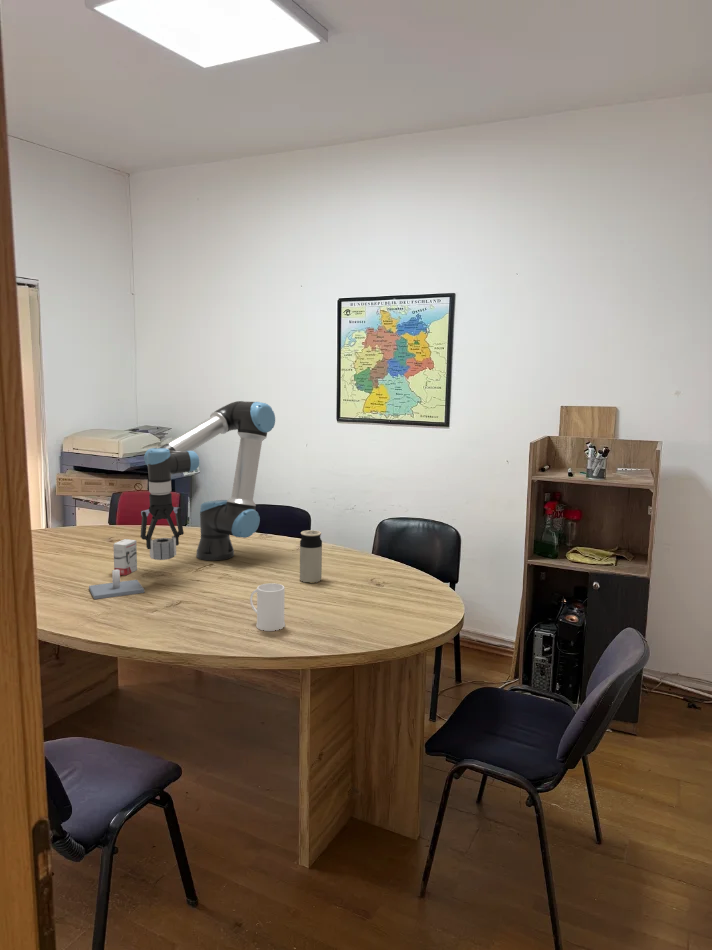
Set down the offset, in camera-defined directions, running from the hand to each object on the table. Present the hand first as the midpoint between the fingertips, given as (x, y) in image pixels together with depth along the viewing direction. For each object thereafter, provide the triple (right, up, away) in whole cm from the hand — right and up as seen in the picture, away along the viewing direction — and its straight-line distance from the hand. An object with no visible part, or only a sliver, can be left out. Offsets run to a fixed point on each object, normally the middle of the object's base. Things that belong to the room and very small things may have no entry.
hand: (163, 555), depth 234 cm
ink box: (-18, -8, +13) cm, 23 cm away
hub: (0, 0, 0) cm, 0 cm away
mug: (+42, -16, -37) cm, 58 cm away
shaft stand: (-13, -11, -9) cm, 19 cm away
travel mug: (+52, -10, +8) cm, 53 cm away
